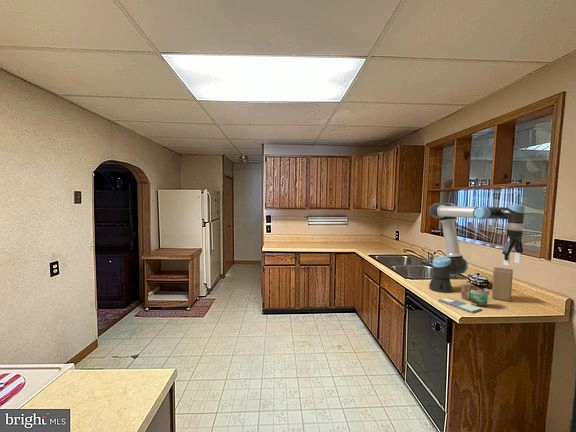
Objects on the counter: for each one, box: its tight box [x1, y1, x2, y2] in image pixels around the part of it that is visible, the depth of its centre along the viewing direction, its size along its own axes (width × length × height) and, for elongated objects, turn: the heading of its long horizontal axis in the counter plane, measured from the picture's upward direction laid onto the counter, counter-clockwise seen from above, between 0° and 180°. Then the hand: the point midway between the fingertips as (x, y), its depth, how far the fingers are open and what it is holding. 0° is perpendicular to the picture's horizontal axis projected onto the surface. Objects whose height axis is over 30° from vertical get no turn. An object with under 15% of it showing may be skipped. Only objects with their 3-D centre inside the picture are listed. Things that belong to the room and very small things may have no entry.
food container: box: [470, 287, 490, 308], centre depth 173 cm, size 12×6×10 cm, turn 106°
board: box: [437, 297, 483, 314], centre depth 173 cm, size 21×10×1 cm, turn 27°
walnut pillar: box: [460, 282, 475, 302], centre depth 185 cm, size 5×5×10 cm
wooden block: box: [491, 266, 513, 303], centre depth 187 cm, size 10×10×20 cm
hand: (511, 264), depth 172 cm, fingers open, 13 cm apart
